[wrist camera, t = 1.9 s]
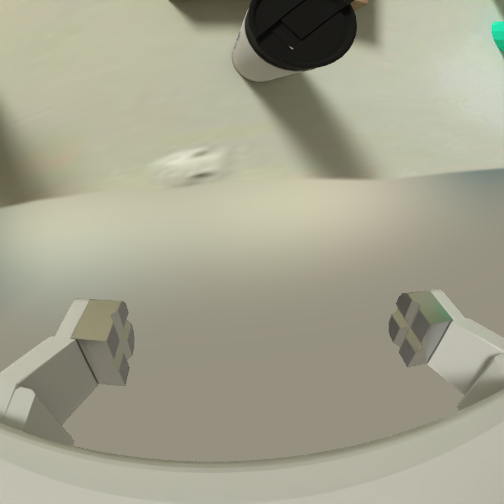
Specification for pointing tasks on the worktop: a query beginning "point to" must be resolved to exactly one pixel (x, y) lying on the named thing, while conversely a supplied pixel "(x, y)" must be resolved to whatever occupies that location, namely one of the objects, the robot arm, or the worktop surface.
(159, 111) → the worktop surface
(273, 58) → the travel mug
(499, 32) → the candle
